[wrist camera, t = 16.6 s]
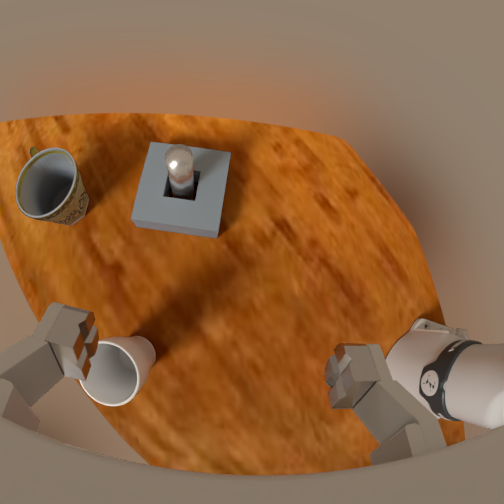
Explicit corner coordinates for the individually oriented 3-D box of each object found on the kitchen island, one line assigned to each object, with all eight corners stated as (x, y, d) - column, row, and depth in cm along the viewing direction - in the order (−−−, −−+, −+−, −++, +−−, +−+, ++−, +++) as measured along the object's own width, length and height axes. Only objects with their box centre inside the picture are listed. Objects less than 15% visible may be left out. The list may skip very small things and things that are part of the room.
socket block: (228, 164, 47) (231, 152, 43) (217, 238, 44) (218, 231, 40) (154, 154, 45) (150, 142, 41) (136, 226, 43) (130, 218, 39)
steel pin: (196, 185, 45) (195, 145, 34) (192, 205, 45) (189, 170, 33) (175, 182, 45) (168, 142, 33) (171, 202, 44) (162, 166, 32)
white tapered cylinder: (141, 385, 38) (113, 420, 24) (107, 352, 39) (64, 371, 24) (171, 353, 40) (155, 375, 26) (136, 320, 40) (103, 324, 26)
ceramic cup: (109, 211, 42) (88, 185, 33) (60, 249, 40) (28, 233, 30) (77, 153, 43) (55, 121, 33) (32, 188, 41) (3, 163, 31)
